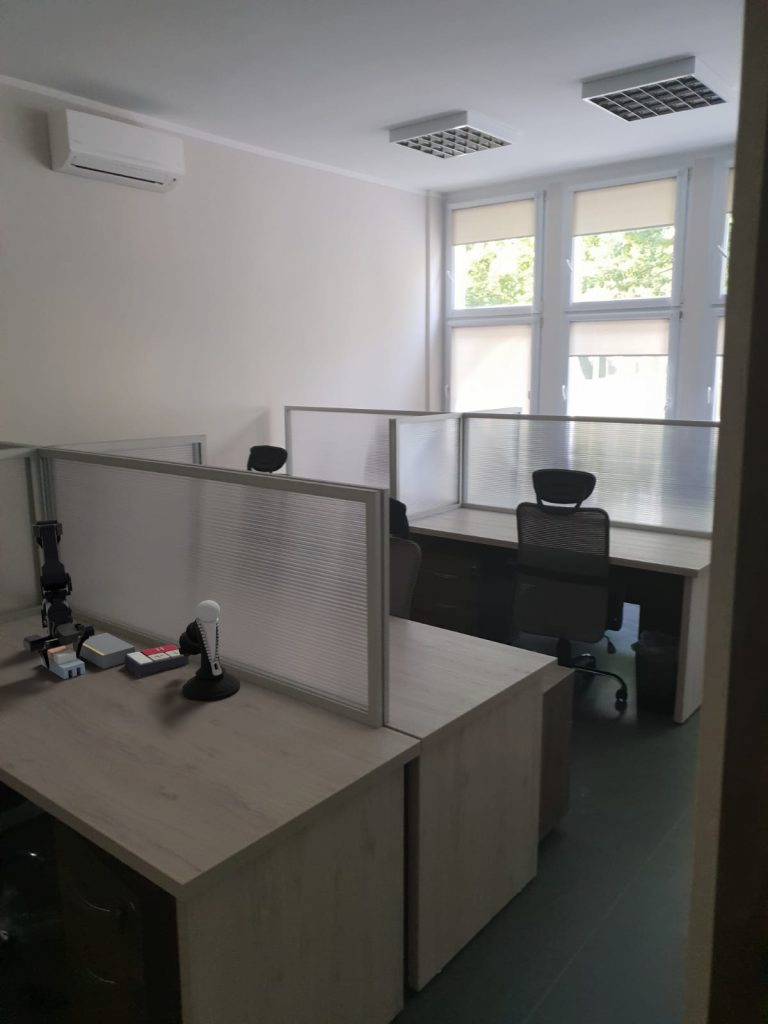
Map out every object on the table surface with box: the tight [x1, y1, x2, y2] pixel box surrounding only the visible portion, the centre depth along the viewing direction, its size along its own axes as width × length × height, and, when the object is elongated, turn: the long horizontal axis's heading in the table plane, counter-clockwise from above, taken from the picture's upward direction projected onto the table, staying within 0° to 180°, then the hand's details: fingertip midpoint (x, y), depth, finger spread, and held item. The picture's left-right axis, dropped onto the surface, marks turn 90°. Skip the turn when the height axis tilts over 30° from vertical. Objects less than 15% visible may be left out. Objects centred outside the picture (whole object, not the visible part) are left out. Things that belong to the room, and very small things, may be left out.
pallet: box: [40, 658, 86, 680], centre depth 226 cm, size 16×6×4 cm, turn 45°
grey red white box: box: [124, 644, 190, 678], centre depth 228 cm, size 11×4×15 cm
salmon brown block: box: [48, 645, 70, 660], centre depth 227 cm, size 4×5×2 cm
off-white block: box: [53, 648, 76, 664], centre depth 224 cm, size 4×5×2 cm
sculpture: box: [178, 599, 241, 702], centre depth 211 cm, size 15×24×25 cm, turn 38°
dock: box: [79, 632, 136, 670], centre depth 235 cm, size 18×10×4 cm, turn 45°
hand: (62, 664), depth 226 cm, fingers open, 8 cm apart
